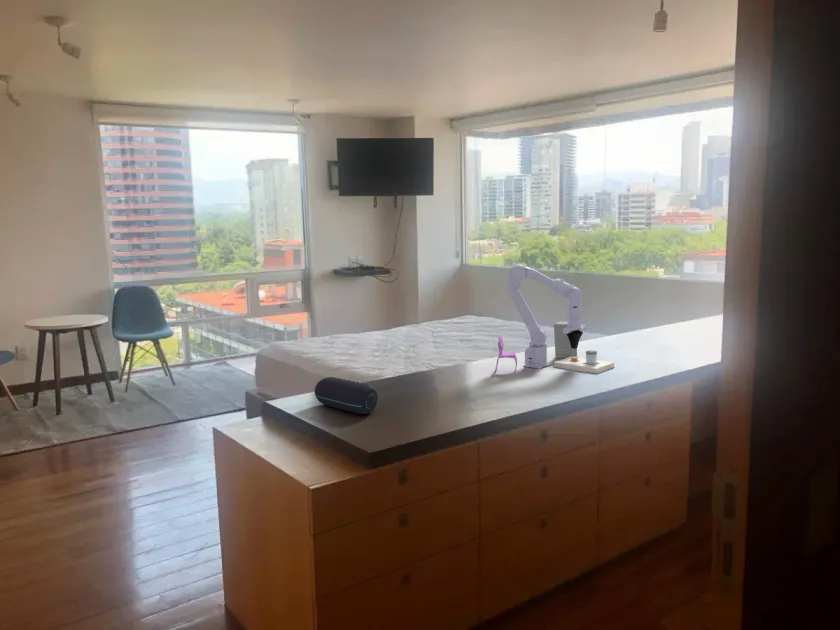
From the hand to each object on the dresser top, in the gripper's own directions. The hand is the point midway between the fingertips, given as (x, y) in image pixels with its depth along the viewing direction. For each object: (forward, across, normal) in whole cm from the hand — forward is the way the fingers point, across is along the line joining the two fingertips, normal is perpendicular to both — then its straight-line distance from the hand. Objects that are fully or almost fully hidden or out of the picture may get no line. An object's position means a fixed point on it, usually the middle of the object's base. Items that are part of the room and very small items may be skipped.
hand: (574, 348), depth 274 cm
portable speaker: (+8, -102, +25) cm, 105 cm away
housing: (+7, 0, -5) cm, 9 cm away
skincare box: (+8, +12, +12) cm, 19 cm away
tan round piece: (+7, 0, 0) cm, 7 cm away
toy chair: (+8, -26, +16) cm, 31 cm away
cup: (+7, 0, -8) cm, 11 cm away
